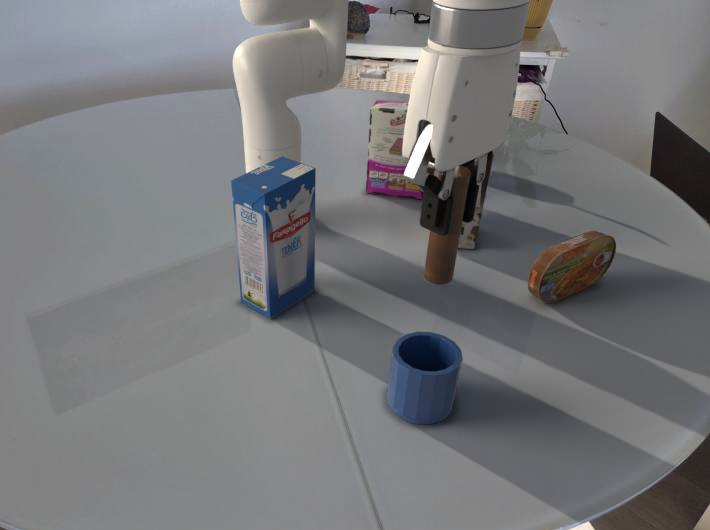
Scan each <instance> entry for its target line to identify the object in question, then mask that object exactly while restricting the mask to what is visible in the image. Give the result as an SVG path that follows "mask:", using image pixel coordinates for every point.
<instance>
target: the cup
mask: <svg viewBox="0 0 710 530" xmlns="http://www.w3.org/2000/svg"><path fill="white" fill-rule="evenodd" d="M463 360H464V359H463V352H462V349H461V348H460V347H459V345H458V344H457V343H456V342H455V341H454V340H452V338H449V337H448V336H446V335H443V334H440V333H437V332H432V331H413V332H409V333H406V334H403V335H402V336H401V337H399V338H398V339H397V340H396V341H395V342H394V344H393V345H392V352H391V360H390V367H389V368H390V369H389V377H388V386H387V397H386V398H387V404H388V407H389V409H390V411H392V413H394V415H396V416H397V417H398V418H400V419H401V420H404V421H405V422H408V423H411V424H415V425H433V424H436V423H440V422H442V421H443V420H445V419H446V418H447V417H449V415H450V413H451V412H452V410H453V405H454V403H455V398H456V393H457V390H458V389H457V388H458V384H459V378H460V374H461V369H462V365H463Z"/></svg>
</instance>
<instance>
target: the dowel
mask: <svg viewBox="0 0 710 530" xmlns="http://www.w3.org/2000/svg"><path fill="white" fill-rule="evenodd" d="M470 175H471V171H470V170H469V169H468V168H466V167H463V166H457V167H456V169H455V174H454V179H453V183H452V188H451V193H450V195H449V196H450V197H453V198H454V201H453V208H452V214H451V220H450V227H449V232H448V234H446V235H444V236H441V235H439V234H437V233H435V232H432V231H430V230H429V235H428V242H427V249H426V257H425V264H424V272H423V279H424V280H425V281H426V282H428V283H429V284H431V285H437V286H443V285H449V284H450V283H451V282H452V281H453V280H454V274H455V268H456V263H457V257H458V251H459V248H458V245H459V239H460V233H461V227H462V222H463V216H464V210H465V204H466V198H467V193H468V187H469V181H470ZM436 176H437V178H438V179H439V180H440V181H441V176H442V172H439V171H437V175H436Z"/></svg>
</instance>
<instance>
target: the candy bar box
mask: <svg viewBox="0 0 710 530" xmlns="http://www.w3.org/2000/svg"><path fill="white" fill-rule="evenodd" d="M408 104H409V101H403V100H402V101H401V100H386V99H376V100H375V102H374V104H373V105H372V106H371V107H370V110H369V128H368V145H367V146H368V147H367V164H366V180H365V193H366V194H372V195H379V196H380V195H381V196H388V197H398V198H405V199H415V200H422V199H423V192H422V191H420V187H419V186H418V185H417V184H414V183H412V182H409V181H407V180H405V179H404V173H405V170H406V168H407V165H408V163H409V161H410V160H408V159H405V158H404V157H403V154H402V147H403V137H404V129H405V122H406V115H407V109H408Z"/></svg>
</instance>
